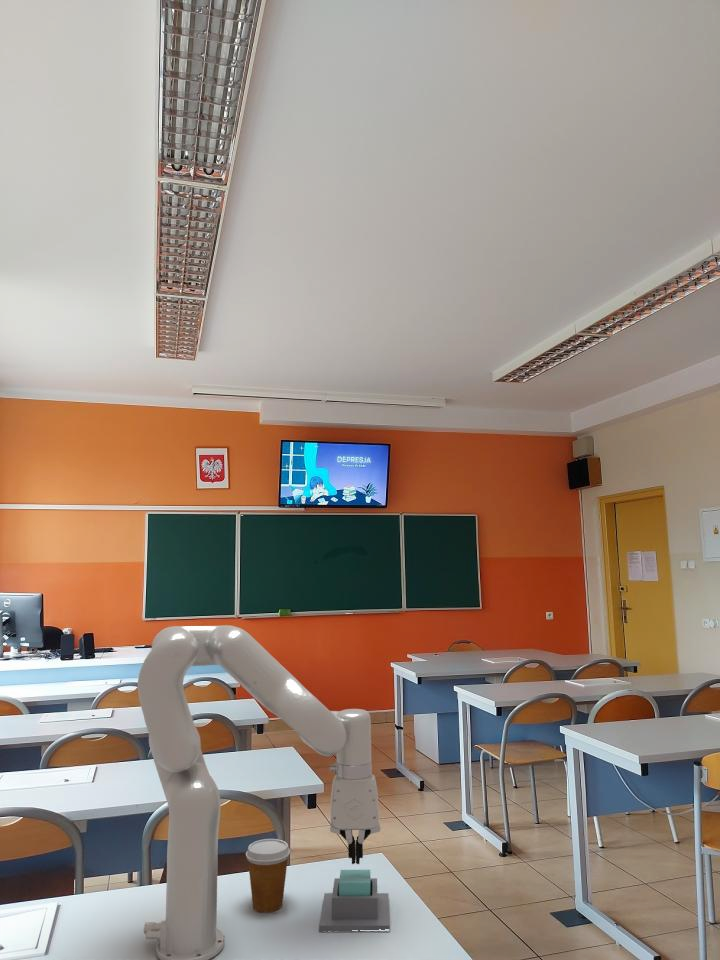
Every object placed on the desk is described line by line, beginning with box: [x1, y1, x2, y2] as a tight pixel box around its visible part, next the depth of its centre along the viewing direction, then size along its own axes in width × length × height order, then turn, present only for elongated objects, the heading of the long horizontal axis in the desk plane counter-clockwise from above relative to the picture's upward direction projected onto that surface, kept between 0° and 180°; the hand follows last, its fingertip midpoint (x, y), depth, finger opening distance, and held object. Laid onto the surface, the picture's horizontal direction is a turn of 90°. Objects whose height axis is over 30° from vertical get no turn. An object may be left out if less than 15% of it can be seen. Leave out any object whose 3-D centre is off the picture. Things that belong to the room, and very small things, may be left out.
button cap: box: [339, 869, 372, 896], centre depth 142 cm, size 6×6×4 cm
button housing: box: [318, 877, 391, 933], centre depth 142 cm, size 14×14×5 cm
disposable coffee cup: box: [245, 838, 291, 914], centre depth 147 cm, size 10×10×12 cm
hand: (355, 861), depth 143 cm, fingers closed
